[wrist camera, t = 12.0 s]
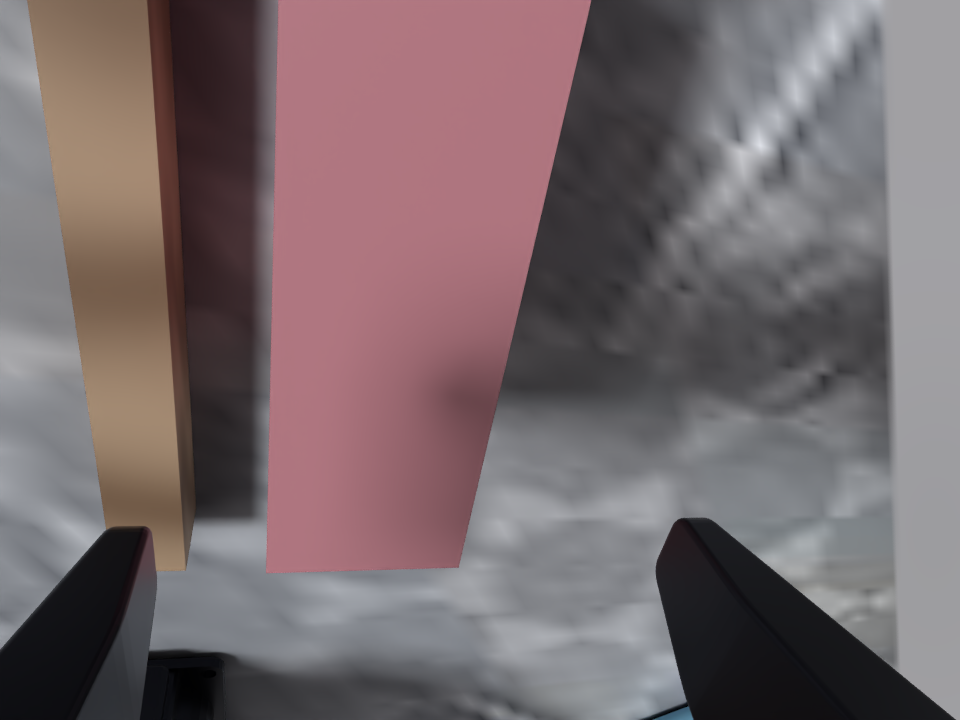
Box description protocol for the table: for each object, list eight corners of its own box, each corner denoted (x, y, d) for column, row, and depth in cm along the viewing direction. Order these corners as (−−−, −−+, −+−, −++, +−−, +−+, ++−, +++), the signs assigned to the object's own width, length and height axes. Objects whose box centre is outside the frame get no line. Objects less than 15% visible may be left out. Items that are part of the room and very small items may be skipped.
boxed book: (417, 355, 23) (458, 567, 16) (279, 349, 22) (266, 572, 15) (488, -109, 16) (604, -54, 10) (294, -147, 15) (280, -114, 9)
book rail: (195, 508, 24) (185, 570, 22) (129, 509, 24) (112, 572, 22) (161, -153, 15) (136, -148, 13) (45, -176, 14) (1, -173, 12)
